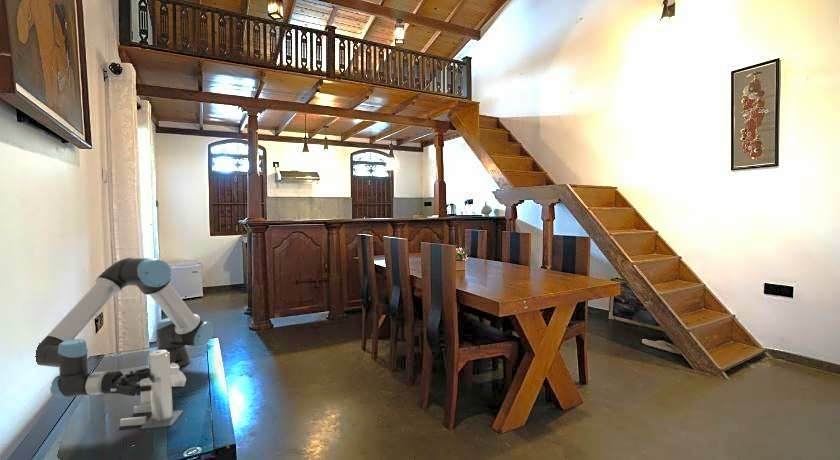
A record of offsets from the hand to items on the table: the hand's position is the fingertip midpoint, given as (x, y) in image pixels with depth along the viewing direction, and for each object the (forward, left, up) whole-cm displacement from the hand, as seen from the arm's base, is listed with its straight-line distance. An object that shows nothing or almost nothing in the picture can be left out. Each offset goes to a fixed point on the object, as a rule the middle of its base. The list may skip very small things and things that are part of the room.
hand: (171, 377), depth 145 cm
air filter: (0, -3, -15) cm, 15 cm away
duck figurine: (-30, -10, -16) cm, 35 cm away
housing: (-9, -12, -16) cm, 22 cm away
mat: (0, -3, -16) cm, 16 cm away
